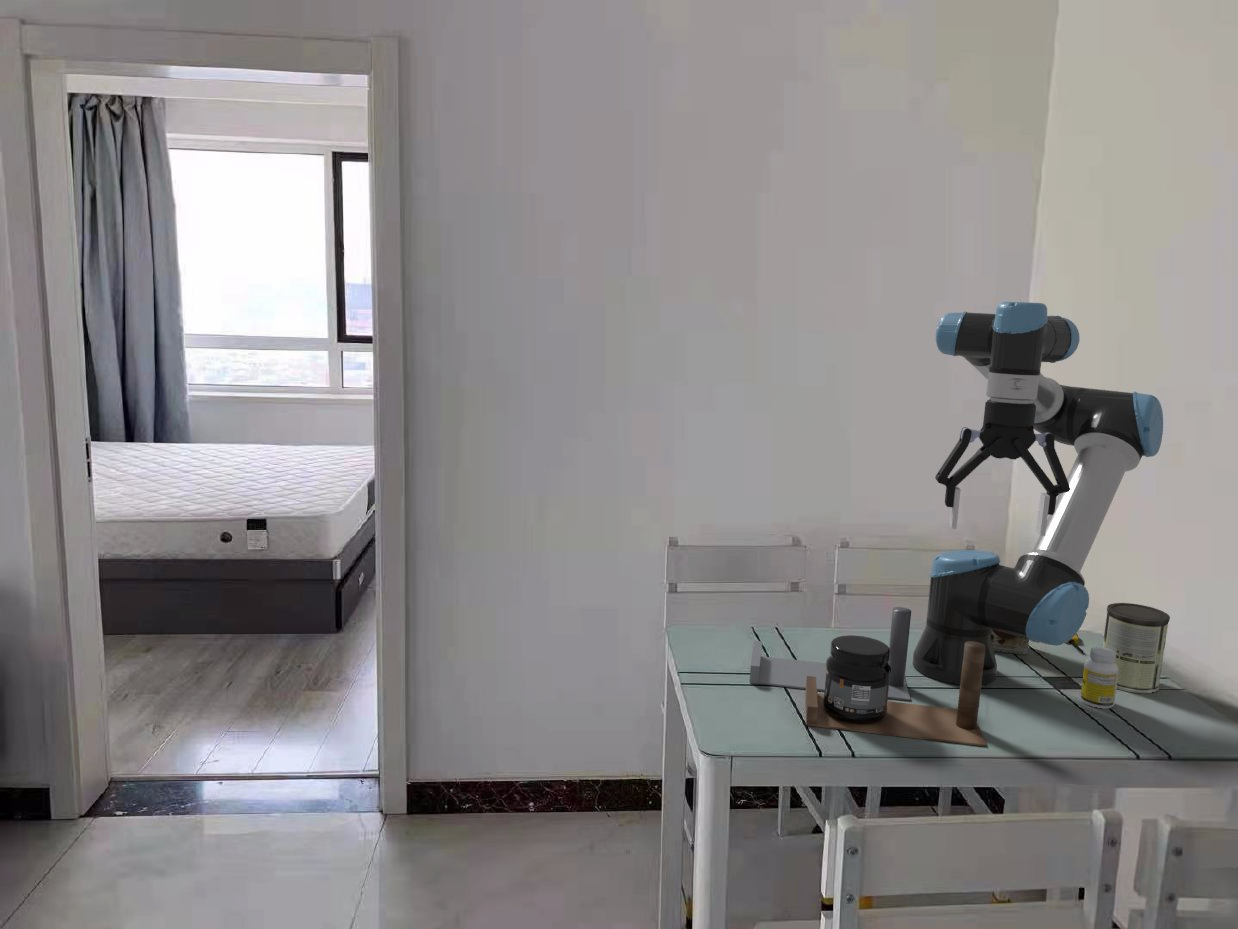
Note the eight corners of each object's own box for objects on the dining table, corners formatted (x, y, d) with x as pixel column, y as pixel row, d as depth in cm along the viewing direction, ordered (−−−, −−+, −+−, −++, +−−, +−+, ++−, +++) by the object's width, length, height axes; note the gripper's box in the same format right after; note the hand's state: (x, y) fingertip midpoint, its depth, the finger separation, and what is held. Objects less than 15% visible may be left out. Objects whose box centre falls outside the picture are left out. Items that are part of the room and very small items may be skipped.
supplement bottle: (1086, 694, 171) (1093, 643, 169) (1118, 704, 167) (1125, 651, 166) (1075, 702, 167) (1082, 650, 166) (1107, 712, 164) (1114, 659, 162)
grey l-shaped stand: (902, 672, 177) (909, 600, 175) (910, 700, 165) (918, 622, 162) (752, 656, 182) (757, 585, 180) (749, 683, 170) (754, 607, 167)
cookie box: (980, 650, 191) (989, 573, 189) (976, 639, 198) (984, 565, 195) (1028, 655, 189) (1038, 578, 187) (1022, 644, 196) (1031, 569, 193)
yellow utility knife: (1067, 623, 206) (1095, 647, 191) (1066, 631, 206) (1094, 656, 191) (1044, 622, 206) (1071, 646, 191) (1043, 630, 206) (1070, 655, 192)
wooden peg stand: (971, 712, 161) (980, 632, 159) (986, 746, 149) (996, 660, 146) (805, 693, 166) (811, 616, 164) (806, 725, 153) (812, 642, 151)
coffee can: (1088, 670, 183) (1098, 600, 181) (1144, 674, 182) (1154, 604, 180) (1110, 691, 173) (1121, 618, 170) (1169, 696, 172) (1180, 622, 170)
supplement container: (855, 695, 165) (860, 630, 163) (900, 719, 156) (907, 650, 154) (809, 706, 160) (814, 639, 158) (853, 731, 151) (859, 661, 149)
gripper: (932, 397, 148) (919, 529, 152) (1102, 407, 144) (1084, 542, 147) (926, 393, 155) (914, 518, 159) (1087, 402, 151) (1071, 531, 155)
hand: (996, 530), depth 153 cm, fingers open, 13 cm apart
